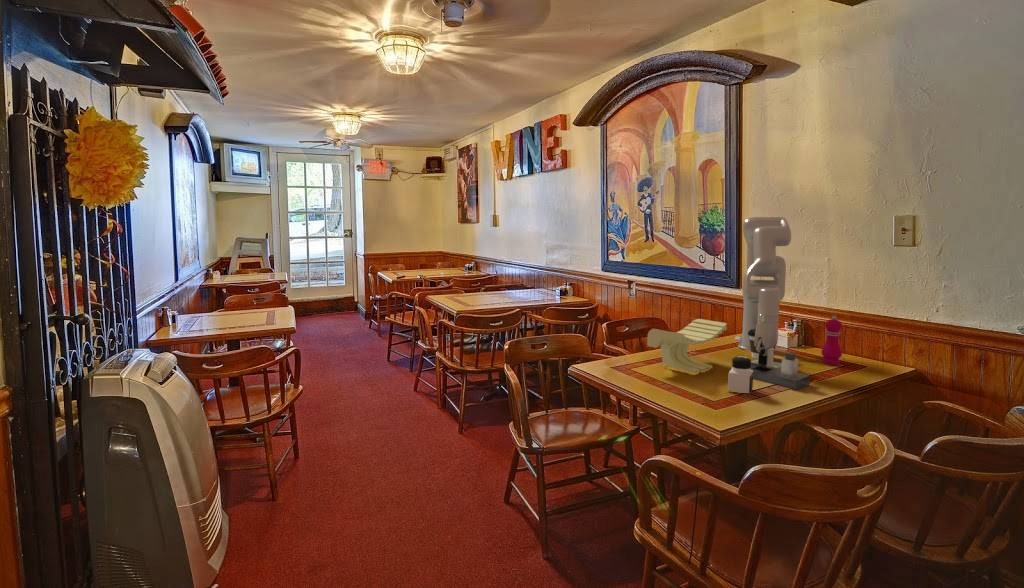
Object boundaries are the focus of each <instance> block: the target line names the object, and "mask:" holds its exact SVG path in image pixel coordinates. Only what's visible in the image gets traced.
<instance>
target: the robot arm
mask: <svg viewBox="0 0 1024 588" xmlns="http://www.w3.org/2000/svg"><path fill="white" fill-rule="evenodd" d="M742 233H743V236H744V239H745V242H746V248H747V249H746V271H745V272H744V274H743V278H742V287H741V288H742V289H741V290H742V299H743V300H742V302H743V313H742V336H738V335H736V336H735V337H734V341H735V342H738V345H737V347H738V348H739V349H742V350H745V351H751V349H750V341H749V338H750V337H749V335H748V332H749V330H751V329H756V331H755V340H754V346H755V347H756V350H757V351H758V355H759V359H757V360H758V364H760V365H767V356H766V353H767V348H769V347H774V350H775V349H776V347H777V344H778V343H779V321H780V320H779V318H780V302H781V301H782V300H784V298H785V293H786V273H787V272H786V269H787V265H786V261H785V259H784V258H783V257H782V256H780V255H777V253H776V252H777V250H776V249H777V248H776V247H787V246H789V245H790V244H791V240H792V230H791V227H790V225H789V223H788V220H787V219H786V217H783V216H754V217H747V218H746V219H744V220H743V223H742ZM752 277H755V278H756V277H759V278H760V277H761V278H772V279H752ZM762 346H764V347H762ZM762 349H764V351H763V350H762Z"/></svg>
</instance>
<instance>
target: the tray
mask: <svg viewBox="0 0 1024 588" xmlns="http://www.w3.org/2000/svg"><path fill="white" fill-rule="evenodd" d="M751 363H756V364H758V359H755V360H751ZM781 366H782V362H776V361H773V367H774V368H778V369H781Z"/></svg>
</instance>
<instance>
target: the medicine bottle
mask: <svg viewBox="0 0 1024 588" xmlns="http://www.w3.org/2000/svg"><path fill="white" fill-rule="evenodd" d="M751 361H752V360H751V358H749V357H746V356H735V357H733V358H732V360H731V369H730V370H729V372H728V377H727V378H728V379H727V380H728V381H727V391H728V390H732V391H737V392H743V393H750V392H751V393H752V391H753V389H752V388H753V386H754V385H753V384H754V379H753V370H751ZM751 390H752V391H751ZM751 393H750V394H751Z"/></svg>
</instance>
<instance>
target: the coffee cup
mask: <svg viewBox="0 0 1024 588" xmlns="http://www.w3.org/2000/svg"><path fill="white" fill-rule="evenodd" d="M755 331H756V329H751V330H749V332H748V335H749V337H750V338H749V341H750V349H751V350H750V352H751V358H752V359H755V360H758V357H759V355H758V351H757V350H756V347H755V346H754V340H755Z"/></svg>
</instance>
